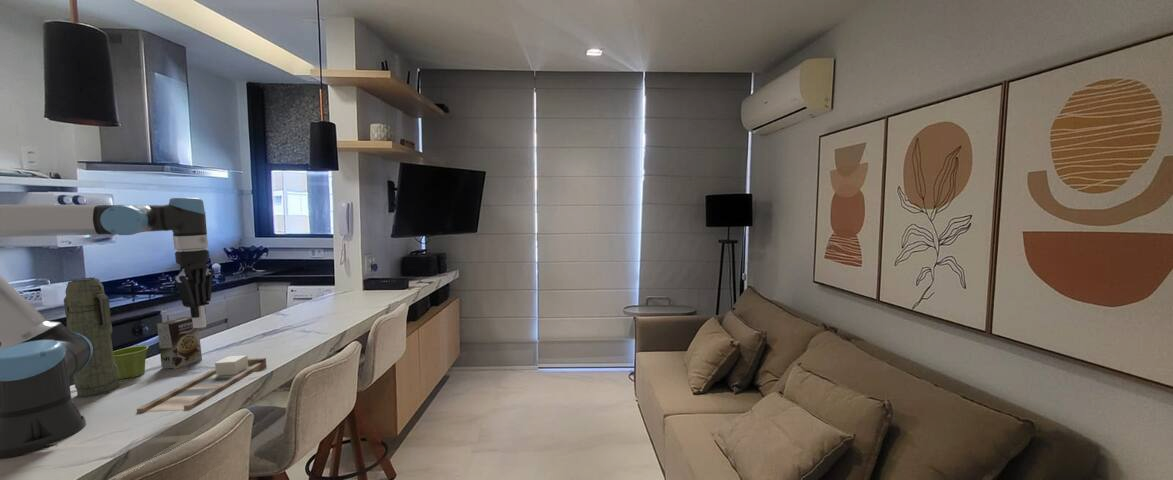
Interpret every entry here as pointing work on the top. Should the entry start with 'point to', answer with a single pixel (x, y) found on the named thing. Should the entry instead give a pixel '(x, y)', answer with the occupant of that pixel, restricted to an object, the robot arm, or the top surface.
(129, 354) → the plant pot
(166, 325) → the coffee box
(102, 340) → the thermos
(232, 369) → the cream block
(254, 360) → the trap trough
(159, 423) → the top surface
